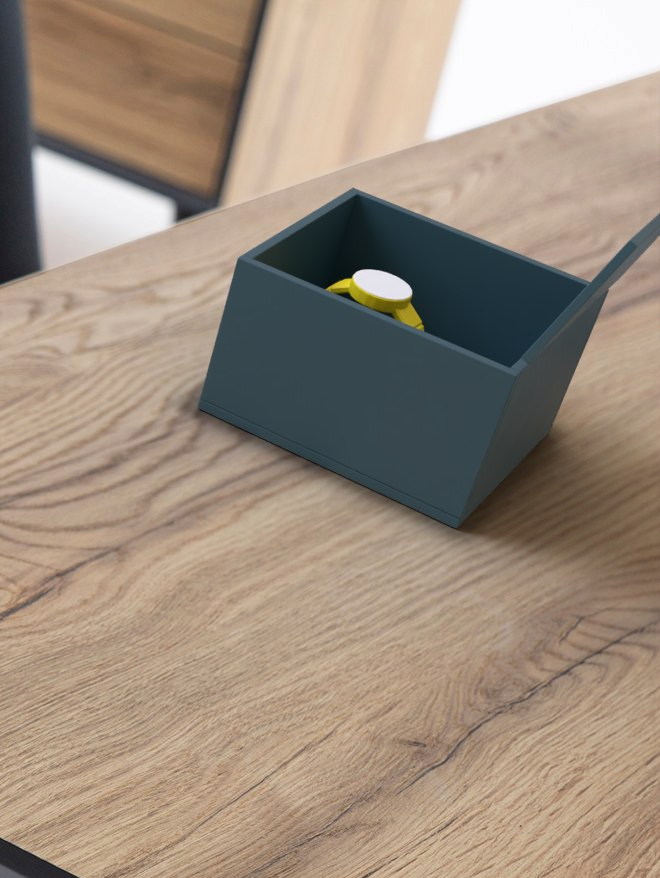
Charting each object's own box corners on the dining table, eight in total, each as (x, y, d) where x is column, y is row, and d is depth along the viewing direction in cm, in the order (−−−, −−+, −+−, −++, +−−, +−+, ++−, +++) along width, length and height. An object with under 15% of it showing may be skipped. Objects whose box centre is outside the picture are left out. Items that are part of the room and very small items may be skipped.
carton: (549, 432, 83) (609, 289, 78) (456, 529, 74) (517, 376, 70) (309, 327, 87) (352, 187, 83) (196, 408, 79) (237, 257, 74)
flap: (612, 273, 78) (618, 279, 78) (520, 358, 69) (527, 364, 69) (714, 163, 73) (722, 169, 73) (629, 239, 65) (637, 247, 65)
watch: (272, 380, 81) (307, 264, 78) (301, 363, 83) (336, 248, 79) (383, 435, 79) (425, 317, 75) (411, 415, 81) (452, 300, 77)
